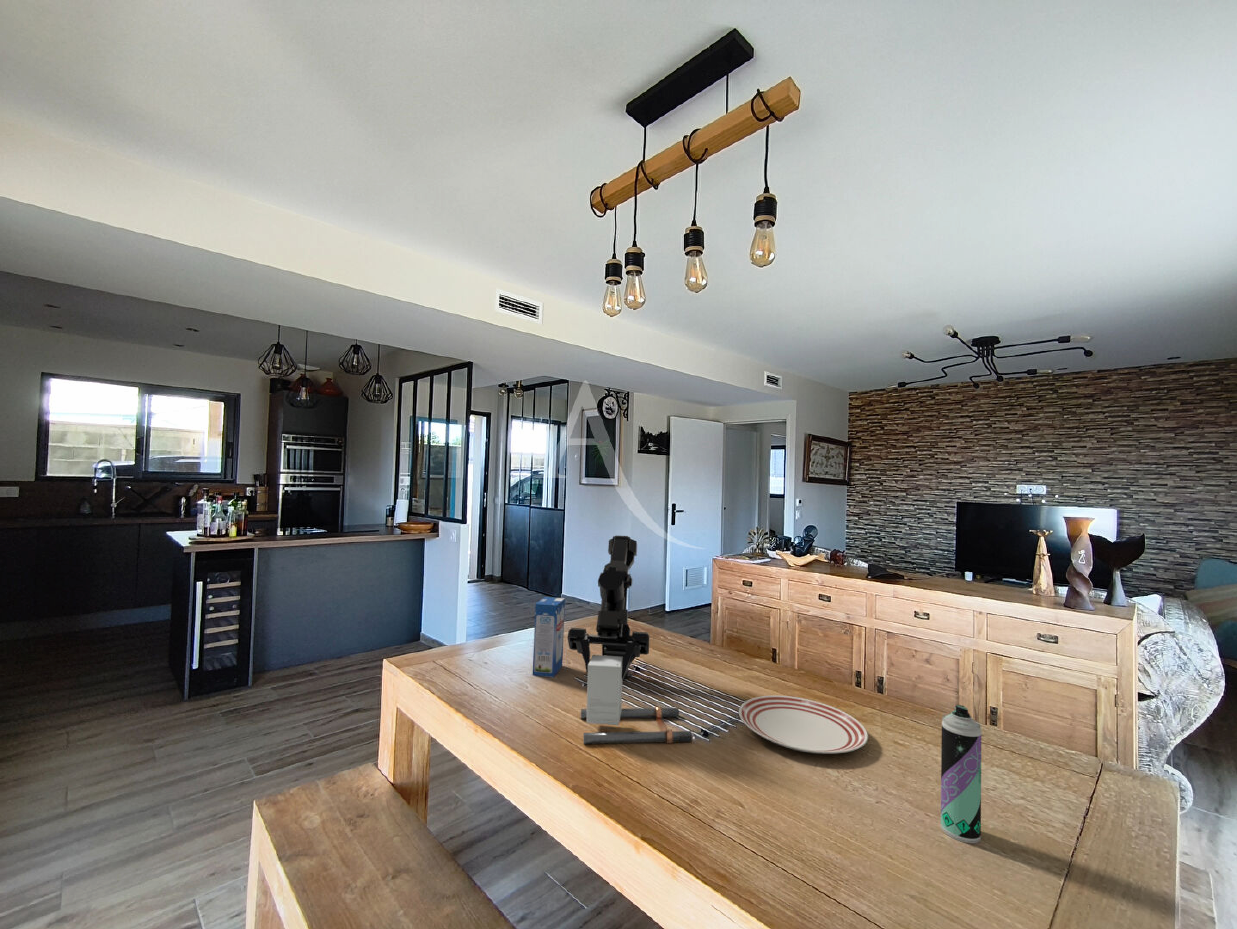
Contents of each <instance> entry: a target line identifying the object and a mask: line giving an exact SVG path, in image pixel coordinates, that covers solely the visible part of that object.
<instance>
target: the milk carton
mask: <svg viewBox="0 0 1237 929" xmlns="http://www.w3.org/2000/svg"><path fill="white" fill-rule="evenodd" d="M565 609H566V597H551V596H544V597H543V598H542V599H540V600H539V601H537V602H536V603H535V609H534V610H535V611H534V629H533V630H534V633H533V634H534V635H533V651H532V652H533V654H532V655H533V656H532V658H533V659H532V676H539V677H550V678H555V676H556V675H557V674H558V672H559V671H560V669H561V668H562V667H563V660H564V658H563V657H564V634H565V614H566V613H565V612H566V610H565ZM561 666H562V667H561ZM556 673H557V674H556Z"/></svg>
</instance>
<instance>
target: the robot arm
mask: <svg viewBox="0 0 1237 929" xmlns="http://www.w3.org/2000/svg"><path fill="white" fill-rule="evenodd" d="M607 553H608V555H610V560H609V563H607V564H604V567H603V571H602V572H600V574H599V576H598V579H597V584H598V585H597V586H598V587H599V595H600V599H601V600H600V601H601V603H600V609H599V610H598V611H597V621H596V627H595V628H596V629H595V631H596V632H597V633H596V634H589V633H587V629H586V628H582V627H581V628H580V627H571V628H570V629H568V632H567V644H568V648H569V649H570V650H572V651H576V652H577V653H578V654H581V655H582V659H583V661H584V665H585V670H586V676H587V677H588V664H589V662H590V660H591V649H590V648H591V647H590V645H601V655H603V656H619V657H623V667H622V681H623V680H626V679H628V678H632V677H633V674H632V673H629V668H630V666H631V664H632V663H633V662H634V660H635V658H640V656H641V655H649V654H650V634H649V632H646V631H632V633H631V628H630V626H629V624H628V622H629V620H628V618H629V609H627V607H628V606H627V605H628V604H627V602H628V589H631V587H632V585H633V582H634V580H633V578H632V576H631V574H630V573H629V572H630V569H631V568H632V566H633V565H634V563H635V557H637V556H638V554H637V553H638V542H637V540H634V539H632V538H631V536H628V535H613V536H612V538H611V539H608V547H607Z"/></svg>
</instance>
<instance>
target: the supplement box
mask: <svg viewBox="0 0 1237 929" xmlns="http://www.w3.org/2000/svg"><path fill="white" fill-rule="evenodd" d="M622 667H623V657H619V656H603V655H602V654H601V655H599V654H592V656H591V657H590V662H589V664H588V676H587V686H586V687H587V690H586V693H587V694H586V709H587V718H586V724H594V725H595V724H597V725H607V726H608V725H609V726H611V725H612V726H619V725H620V721H621V718H620V717H621V710H622V709H623V708H622V705H623V704H622V702H623V700H622V698H623V680H622Z"/></svg>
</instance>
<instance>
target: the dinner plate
mask: <svg viewBox="0 0 1237 929" xmlns="http://www.w3.org/2000/svg"><path fill="white" fill-rule="evenodd" d="M738 709H739V710H738V715H739V718H740V720H741V722H742V723H744V725H745V726H746V727H747V728H748V729H750V730H751V731H752V732H754V733H755V734H757V735H758V736H759V737H762V738H763V739H765V740H766V741H770V742H771V743H774V744H775V745H778V746H782V747H784V748H786V749H790V750H793V751H797V752H803V753H809V754H822V755H823V754H824V755H825V754H827V755H828V754H830V755H831V754H841V753H842V754H843V753H850V752H854V751H856V750H860V749H861V748H862V747H863V746H865V745H866V744H867V742H868V739H869V734H868V732H867V730H866V728H865V727H864V725H863V724H862V723H861V722H860V721H858V720H857V719H856V718H854V717H853V716H851V714H848V713H846V712H844V711H843V710H840V709H838V708H836V707H834V706H831V705H828V704H825V703H822V702H819V701H815V700H812V699H807V698H802V697H797V696H788V695H763V696H762V695H760V696H758V697H757V696H756V697H753V698H750V699H748V700H746V701H745V702H743V703H742V704H741V705H740V707H739V708H738Z"/></svg>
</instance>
